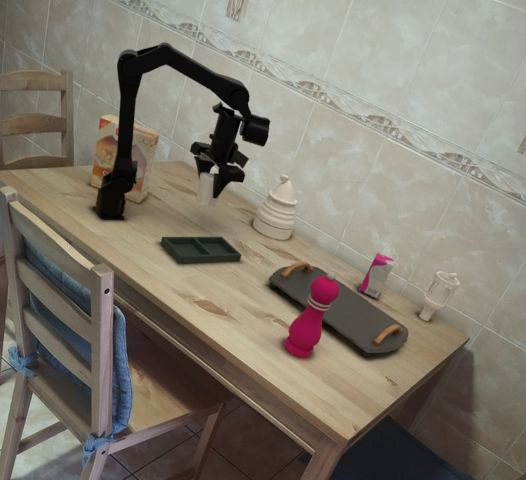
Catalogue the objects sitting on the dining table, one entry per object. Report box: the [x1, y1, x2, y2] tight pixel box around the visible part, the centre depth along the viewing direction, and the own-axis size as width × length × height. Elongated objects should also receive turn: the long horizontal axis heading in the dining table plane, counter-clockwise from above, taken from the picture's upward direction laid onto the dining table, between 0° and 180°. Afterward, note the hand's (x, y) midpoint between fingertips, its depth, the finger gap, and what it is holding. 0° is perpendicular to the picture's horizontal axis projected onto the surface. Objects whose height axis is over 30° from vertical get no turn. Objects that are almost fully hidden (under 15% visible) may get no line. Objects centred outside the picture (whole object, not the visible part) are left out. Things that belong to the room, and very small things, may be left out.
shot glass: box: [195, 172, 221, 208], centre depth 137 cm, size 7×7×7 cm
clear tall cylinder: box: [419, 270, 461, 322], centre depth 146 cm, size 7×7×15 cm
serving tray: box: [268, 261, 409, 359], centre depth 132 cm, size 39×23×6 cm, turn 49°
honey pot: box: [252, 173, 299, 241], centre depth 161 cm, size 13×13×18 cm
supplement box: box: [358, 252, 396, 300], centre depth 148 cm, size 6×6×12 cm
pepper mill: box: [284, 271, 339, 358], centre depth 108 cm, size 7×7×20 cm
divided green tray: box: [160, 236, 242, 265], centre depth 135 cm, size 19×10×2 cm, turn 128°
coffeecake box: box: [90, 113, 160, 204], centre depth 145 cm, size 15×7×20 cm, turn 82°
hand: (208, 192), depth 137 cm, fingers closed on shot glass, 6 cm apart
